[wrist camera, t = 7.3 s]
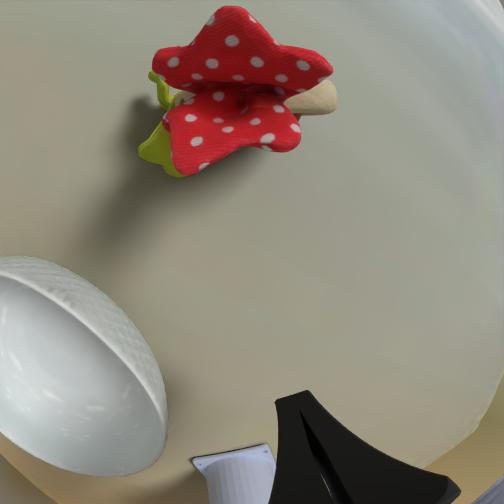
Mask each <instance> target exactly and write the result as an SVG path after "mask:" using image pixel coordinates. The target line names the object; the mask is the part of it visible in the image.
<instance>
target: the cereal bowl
mask: <svg viewBox="0 0 504 504" xmlns="http://www.w3.org/2000/svg"><path fill="white" fill-rule="evenodd" d="M166 400H167V396H166V393H165V386H164V383H163V379H162V375H161V373H160V371H159V365H158V364H157V362H156V360H155V358H154V355H153V353H152V351H151V350H150V349H149V346H148V344H147V342H146V341H145V340H144V338H143V337H142V335H141V333H140V332H139V330H138V329H137V328H136V327H135V325H134V324H133V323H132V321H131V320H130V319H129V318H128V316H127V315H126V314H125V313H124V312H123V311H122V310H121V308H120V307H118V306H117V305H116V304H115V302H113V301H112V300H110V299H109V297H108V296H107V295H106V294H104V293H102V291H101V290H99V289H98V288H97V287H96V286H95V285H93V284H91V283H90V282H89V281H87V280H85V279H84V278H82V277H80V276H79V275H77V274H76V273H73V272H71V271H70V270H67V269H65V268H64V267H62V266H59V265H57V264H54V263H52V262H51V261H46V260H43V259H39V258H34V257H31V256H22V255H19V256H6V257H0V432H1V433H2V434H3V435H5V436H6V437H7V438H8V439H9V440H11V441H12V442H13V443H15V444H16V445H18V446H19V447H21V448H22V449H24V450H25V451H27V452H28V453H30V454H31V455H33V456H35V457H37V458H39V459H41V460H43V461H45V462H47V463H49V464H51V465H54V466H56V467H59V468H61V469H64V470H67V471H71V472H75V473H78V474H83V475H88V476H96V477H121V476H127V475H131V474H135V473H138V472H140V471H142V470H144V469H146V468H148V467H150V466H151V465H152V464H154V463H155V462H156V461H157V460H158V459H159V457H160V456H161V454H162V452H163V450H164V448H165V444H166V441H167V437H168V435H167V430H168V423H167V421H168V413H167V410H168V406H167V402H166Z"/></svg>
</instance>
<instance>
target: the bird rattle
mask: <svg viewBox="0 0 504 504" xmlns="http://www.w3.org/2000/svg"><path fill="white" fill-rule="evenodd" d="M152 70H153V71H150V72H149V75H148V77H149V79H150V80H151V81H154V82H156V84H157V93H158V101H159V103H160V104H161V105H162V107H163V108H164V109H165V110H167V112H166V113H165V114H164V116H163V118H162V121H161V122H160V123H159V125H158V126H157V127H156V129H155V130H154V131H153V133H152V135H151V136H150V138H149V139H148V140H146V141H145V142H144V143H142V144H141V145H140V146H139V147H138V154H139V156H140V157H141V158H143V159H144V160H146V161H148V162H151V163H155V164H160V165H163V168H164V171H165V172H166V173H167V174H168V175H170V176H174V177H178V178H182V177H186V176H191V175H194V174H196V173H198V172H199V171H201V170H203V169H204V168H206V167H208V166H209V165H211V164H213V163H215V162H217V161H219V160H220V159H222V158H224V157H226V156H227V155H229V154H231V153H232V152H234V151H235V150H237V149H238V148H242V147H248V146H253V147H258V148H262V149H264V150H267V151H271V152H288V151H290V150H293V149H294V148H296V147H297V146H298V145H299V143H300V140H301V129H300V126H299V123H298V121H299V119H300V117H301V116H307V115H325V114H329V113H332V112H333V111H334V110H335V109H336V107H337V103H338V97H337V91H336V88H335V86H334V84H333V83H332V82H330V81H328V80H326V78H327V77H328V76H330V75H331V74H332V73H333V68H332V66H331V65H330V64H329V63H328V61H327V60H326V59H325V58H324V57H323V56H322V55H321V54H319V53H317V52H315V51H312V50H308V49H304V48H299V47H294V46H284V45H281V44H279V43H277V42H276V41H275V40H274V39H273V38H272V37H271V36H270V35H269V34H268V32H267V31H266V30H265V29H264V28H263V26H262V25H261V24H260V23H259V22H258V21H257V20H256V19H255V18H254V17H252V16H251V15H250V14H249V13H248V11H247V10H246V9H244V8H242V7H238V6H223V7H221V8H220V9H218V10H217V11H216V12H215V13H214V14H213V15H212V16H211V18H210V19H209V20H208V21H207V23H206V24H205V26H204V27H203V28H202V30H201V31H200V33H199V34H198V35H197V36H196V37H195V39H194V40H193V41H192V42H191V43H190V44H189V45H188V46H185V47H180V46H177V47H168V48H163V49H159V50H157V51H156V53H155V56H154V58H153V61H152ZM169 86H171V87H173V88H176V89H180V90H183V91H181V92H178V93H177V94H176V95H175V96H172V95H170V94H169Z"/></svg>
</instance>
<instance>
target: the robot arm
mask: <svg viewBox="0 0 504 504" xmlns="http://www.w3.org/2000/svg"><path fill="white" fill-rule="evenodd" d="M275 405H276V410H277V416H278V452H277V462H276V464H275V461H274V459H273V456H272V454H271V451H270V448H269V446H268V445H266V444H264V445H259V446H255V447H251V448H247V449H242V450H237V451H232V452H227V453H222V454H216V455H210V456H204V457H197V458H194V459H192V462H193V464H194V465H195V466H196V467H197V469H198V470H199V471H200V472H201V473H202V474H203V476H204V477H205V478H206V479H207V489H208V499H209V504H451V503H452V502H453V501H454V500H455V499H456V498H457V497H458V496H459V495H460V493H461V490H460V489H459V487H458V486H457V485H456V484H455V483H454V482H453V481H452V480H451V479H450V478H449V477H447V476H444V475H440V474H436V473H432V472H429V471H425V470H422V469H419V468H417V467H414V466H411V465H408V464H406V463H404V462H401V461H399V460H397V459H395V458H392V457H390V456H388V455H386V454H385V453H383V452H381V451H379V450H377V449H376V448H374V447H372V446H371V445H369V444H367V443H366V442H364V441H363V440H362V439H360V438H359V437H357V436H356V435H355V434H353V433H352V432H351V431H349V430H348V429H347V428H346V427H344V426H343V425H342V424H341V423H340V422H339V421H337V420H336V419H335V418H334V417H333V416H332V415H331V414H330V413H329V412H328V411H327V410H326V409H325V408H324V407H323V406H322V405H321V404H320V403H319V402H318V401H317V400H316V398H315V397H314V396H313V395H312V393H311V392H310V391H308V390H305V391H302V392H299V393H296V394H293V395H290V396H287V397H283V398H280V399H277V400H276V401H275ZM321 475H322V476H321ZM322 477H323V478H322ZM323 479H324V480H325V482H326V484H327V486H326V484H325V482H324V480H323ZM327 487H328V488H327ZM328 489H329V490H328ZM329 491H330V493H331V495H330V493H329ZM331 496H332V497H331ZM332 498H333V499H332ZM471 504H504V475H503V476H502V477H501V478H500V479H499V480H498V481H497V482H496V483H495V484H494V485H492V486H491V487H490V488H489V489H488V490H487V491H486V492H485V493H483V494H482V495H481V496H480V497H479V498H477V499H476V500H475V501H474V502H472V503H471Z"/></svg>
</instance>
